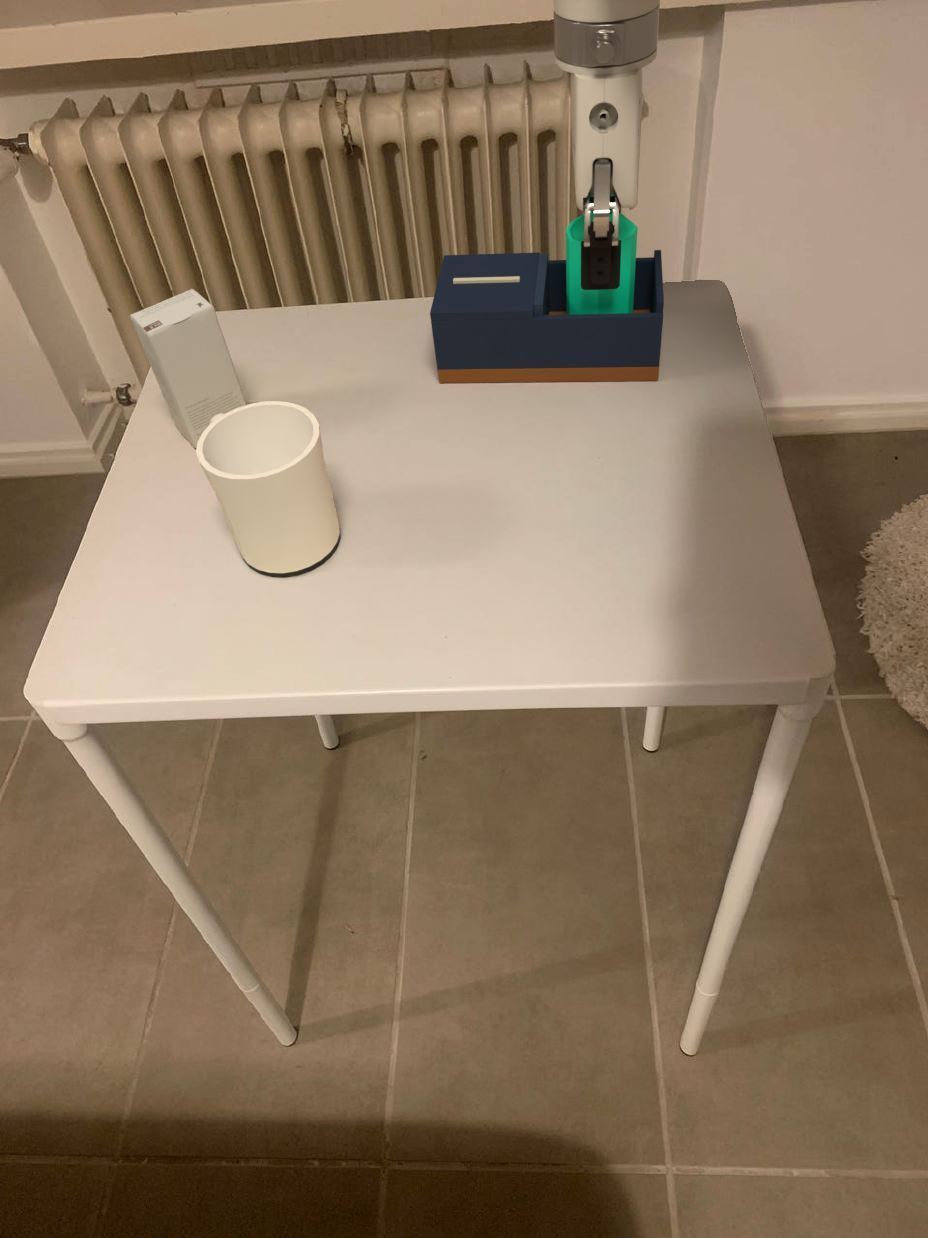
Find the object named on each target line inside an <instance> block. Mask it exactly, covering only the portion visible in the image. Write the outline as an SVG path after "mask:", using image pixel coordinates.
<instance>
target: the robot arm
mask: <svg viewBox="0 0 928 1238" xmlns="http://www.w3.org/2000/svg"><path fill="white" fill-rule="evenodd" d="M552 2H553V4H552V5H553V52H554V53H553V55H554V56H553V57H554V59H553V60H554V61H553V62H554V65H555V66H556V67H557V68H558V69H560V70H561V71H564V72H567V73H570V118H571V119H570V121H571V122H570V124H571V126H570V127H571V129H570V130H571V151H572V168H573V169H572V170H573V180H574V181H573V182H574V193H575V194H574V195H575V204H576V205H575V206H576V207H577V209H578V210H580V211H581V212H583V214H584V241H581V288H582V289H584V290H604V289H617V288H618V287H619V286H620V264H621V240H618V237H619V213H621V214H622V212H621V211H622V210H621V209H628V208H629V211H630V210H631V211H632V210H634V209H635V208H636V207H637V205H638V202H639V201H638V200H639V179H640V178H639V177H640V175H639V174H640V158H641V157H640V156H641V155H640V154H641V139H642V114H643V68H644V67H646V66H648V65H650V64H651V63H652V62H653V61H654V60H656V59H657V56H658V43H659V41H658V40H659V25H660V7H661V0H552ZM591 214H594V215H593V222H591ZM610 214H613V216H612V221H609V215H610Z"/></svg>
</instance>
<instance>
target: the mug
mask: <svg viewBox="0 0 928 1238" xmlns="http://www.w3.org/2000/svg"><path fill="white" fill-rule="evenodd" d="M322 442H323V441H322V433H321V426H320V423H319V421H318V420H317V417H316V416H315V415H314V414H313V413H312V412H311V411H310V410H309V409H308V408H306V407H304V406H302V405H299V404H297V403H292V402H288V401H284V400H279V401H278V400H266V401H259V402H252V403H249V404H247V405H245V406H242V407H239V408H236V409H234V410H232V411H230V412H228V413H225V414H223V413H220V414H217V415H215V416H214V417H213V418H212V419H211V420H210V425H209V426H208V427H207V428H206V429H205V430H204V432H203V433H202V435H201V437H200V439H199V440H198V442H197V448H196V451H195V452H196V456H197V459H198V462H199V465H200V467H201V469H202V470H203V473H204V474H205V476H206V478H207V480H208V482H209V484H210V486H211V488H212V489H213V491H214V493H215V496H216V498H217V500H218V503H219V506H220V508H221V510H222V513H223V515H224V517H225V519H226V523H227V524H228V527H229V529H230V531H231V535H232V536H233V539H234V542H235V543H236V546H237V548H238V550H239V553H240V556H241V558H242V560H243V562H244V563H245V564H246V565H247V566H248V567H249V568H250V569H252V570H254V571H255V572H257V573H259V574H261V575H265V576H268V577H273V578H288V577H297V576H299V575H303V574H305V573H309V572H311V571H313V570H315V569H316V568H318V567H320V566H322V565H323V564H324V563H325V562H326V561H327V560H328V559H329V558H331V556H332V555H333V553H334V552H335V551H336V550H337V548H338V545H339V543H340V539H341V525H340V521H339V517H338V513H337V509H336V504H335V500H334V496H333V491H332V486H331V483H330V477H329V473H328V470H327V469H328V468H327V464H326V461H325V454H324V449H323V443H322Z"/></svg>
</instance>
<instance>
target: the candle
mask: <svg viewBox="0 0 928 1238" xmlns="http://www.w3.org/2000/svg"><path fill="white" fill-rule="evenodd" d="M593 215H594V214H591V222H593ZM612 216H613V214H610V215H609V221H612ZM638 229H639V228H638V226H637V225H636V224H635V223H634V222H633V221H632V220H630V219H629V218H628V217H626V216H625V215H624V214H623V213H622V212H621V213H619V237H618V240H621V264H620V286H619V287H618V288H617V289H604V290H584V289H582V288H581V241H584V213H583V214H581V215H579V216H577V217H576V218H574V219H572V220H571V221H570V222H569V224H568V225H567V227H566V228H565V260H566V312H567V315H577V314H625V313H633V303H634V284H635V265H636V258H637V247H638V244H637V243H638Z"/></svg>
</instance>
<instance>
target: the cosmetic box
mask: <svg viewBox="0 0 928 1238" xmlns="http://www.w3.org/2000/svg"><path fill="white" fill-rule="evenodd" d="M129 318H130V320H131V321H130V322H131V323H132V326H133V328H134V330H135V333H136V335H137V337H138V340H139V342H140V344H141V347H142V349H143V351H144V354H145V356H146V358H147V361H148V363H149V365H150V368H151V370H152V373H153V375H154V377H155V379H156V382H157V384H158V387H159V389H160V392H161V394H162V397H163V399H164V401H165V403H166V406H167V408H168V410H169V413H170V415H171V418H172V420H173V422H174V424H175V425H174V426H175V427H176V429H178V431H179V432H180V433H181V435H182V436H183V437H184V438H185V439H186V440H187V441H188V442H189V444H190V445H191V446H192V447H193V448H194V449H197V442H198V440H199V439H200V437H201V435H202V433H203V432H204V430H205V429H206V428H207V427H208V426H209V425H210V420H211V419H212V418H213V417H214V416H215V415H217V414H220V413H223V414H225V413H228V412H230V411H232V410H234V409H236V408H239V407H242V406H245V405H248V404H247V402H246V398H245V395H244V392H243V390H242V387H241V384H240V381H239V378H238V375H237V372H236V369H235V365H234V363H233V360H232V357H231V354H230V351H229V348H228V345H227V342H226V339H225V336H224V333H223V330H222V328H221V326H220V323H219V320H218V316H217V313H216V310H215V307H214V305H213V304H211V303H210V302H209V301H208V300H207V299H205V298H204V296H202V295H201V294H200V293H199V292H198V291H197V290H196V289H194V288H190V289H188V290H186V291H184V292H182V293H179V294H177V295H174V296H172V297H169V298H167V299H165V300H163V301H159V302H158V303H155V304H153V305H151V306H148V307H146V308H144V309H143V308H142V309H141V310H138V311H137V312H134V313H131V314H130V315H129Z"/></svg>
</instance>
